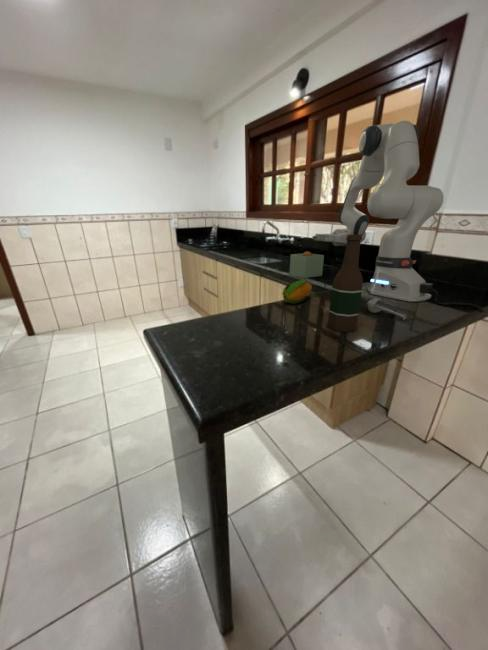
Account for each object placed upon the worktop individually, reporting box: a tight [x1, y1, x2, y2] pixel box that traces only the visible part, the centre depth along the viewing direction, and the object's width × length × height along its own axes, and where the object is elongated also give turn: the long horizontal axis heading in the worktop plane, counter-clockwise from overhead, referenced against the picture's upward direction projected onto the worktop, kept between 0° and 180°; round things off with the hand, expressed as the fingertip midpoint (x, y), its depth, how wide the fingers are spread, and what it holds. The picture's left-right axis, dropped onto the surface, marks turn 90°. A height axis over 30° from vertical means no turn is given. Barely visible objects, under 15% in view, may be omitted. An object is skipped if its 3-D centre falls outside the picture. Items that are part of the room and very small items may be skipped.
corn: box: [281, 279, 313, 305], centre depth 96 cm, size 7×8×20 cm
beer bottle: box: [327, 235, 364, 333], centre depth 67 cm, size 8×8×24 cm
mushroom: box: [366, 297, 408, 321], centre depth 81 cm, size 7×5×12 cm
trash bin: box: [289, 253, 325, 279], centre depth 142 cm, size 12×12×11 cm
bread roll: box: [302, 250, 313, 257], centre depth 141 cm, size 5×5×12 cm
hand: (318, 238), depth 139 cm, fingers open, 8 cm apart
